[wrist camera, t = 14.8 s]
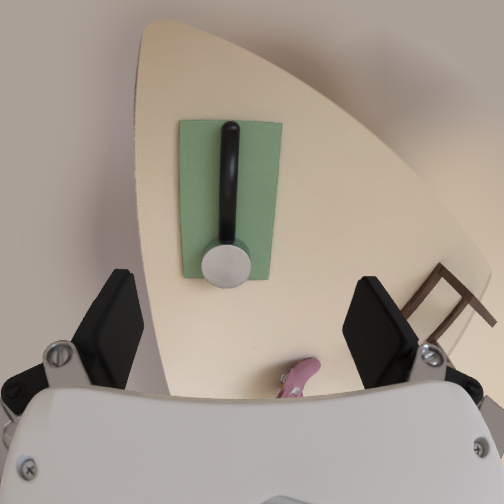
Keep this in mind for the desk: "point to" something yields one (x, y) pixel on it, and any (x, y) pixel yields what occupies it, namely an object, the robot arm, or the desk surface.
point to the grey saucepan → (227, 220)
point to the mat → (248, 190)
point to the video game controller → (298, 378)
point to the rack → (467, 299)
